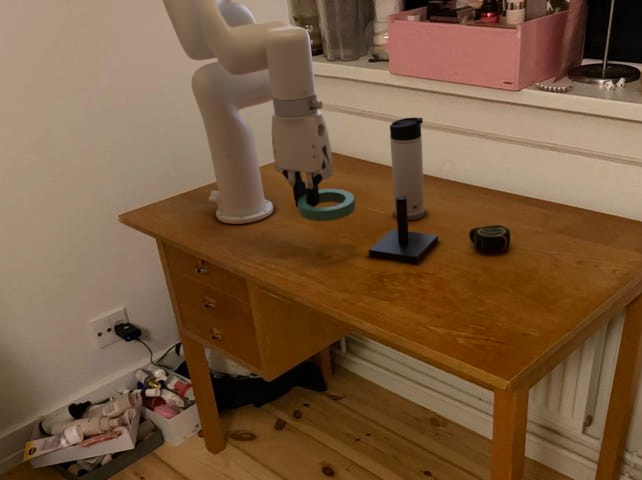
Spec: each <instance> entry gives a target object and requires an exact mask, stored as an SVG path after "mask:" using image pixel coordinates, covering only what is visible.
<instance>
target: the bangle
mask: <svg viewBox="0 0 642 480" xmlns="http://www.w3.org/2000/svg"><path fill="white" fill-rule="evenodd" d="M318 190H319V199H320V200H319V204H323V203H324V204H325V203H338V204H336V205H333V206H332V205H331V206H326V207H324V206H322V207H321V206H319V207H318V206H315V207H313V206H310V205H308V204H307V200H306V194H305V195H304V196H302V197H301V198H299V201H298V207H297V209H298V213H299V215H300V217H301V218H303V219H305V220H308V221H315V222H332V221H337V220H340V219H343V218H346V217H349V216H350V215H351V214H353V213H354V212H355V209H356V200H355V196H354V194H353V193H352V192H350V191H347V190H345V189H338V188H323V189H318Z"/></svg>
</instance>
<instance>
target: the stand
mask: <svg viewBox="0 0 642 480" xmlns="http://www.w3.org/2000/svg"><path fill="white" fill-rule="evenodd" d="M396 211H397V217H396V224H397V229H390V230H389V231H388V232H387V233H386V234H385V235H383V236H382V238H380V239H379V240H378V241H377V242H376V243H374V245H372V246H371V247H370V248H369V249H368V255H369V256H368V257H369V258H374V259H379V260H386V261H387V260H388V261H393V262H399V263H406V264H412V265H418V264H419V263H420V262H421V261H422V260H423V259H424V258H425V257H426V256H427V255H428V254H429V253H430V252H431V250H433V248H435V246H437V245H438V243H439V235H437V234H436V235H435V234H429V233H428V234H427V233H422V232H413V231H409V220H408V215H407V197H406V196H398V197H396Z"/></svg>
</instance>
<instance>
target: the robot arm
mask: <svg viewBox="0 0 642 480" xmlns="http://www.w3.org/2000/svg"><path fill="white" fill-rule="evenodd" d="M161 1H162V3H163V6H164V8H165V11H166V13H167V16H168V18H169V21H170V23H171V25H172V28H173V30H174V32H175V35H176V37H177V39H178V41H179V44H180V46H181V48H182V50H183V51H184V53H185V55H186V56H187V57H188V58H189V59H191V60H193V61H205V60H213V59H217V61H214V62H210V63H206V64H204V65H202V66H200V67H199V68H197V69H196V70H195V71H194V72H193V74H192V77H191V83H190V84H191V91H192V94H193V97H194V100H195V102H196V105H197V107H198V109H199V112H200V115H201V119H202V121H203V125H204V130H205V133H206V138H207V143H208V147H209V151H210V157H211V161H212V162H211V163H212V166H213V171H214V176H215V181H216V185H217V190H212V191H211V192H210V196H209V197H208V201H209V203H212V204H217V209H216V210H215V215H216V218H217V220H218V221H220V222H221V223H225V224H231V225H236V224H237V225H241V224H242V225H243V224H249V223H254V222H257V221H260V220H263V219H265V218H267V217H269V216H270V215H271V214H272V213H273V212H274V206H273V205H274V204H273V203H272V202H271V201H270V200H268V199H266V198H265V194H264V188H263V187H264V186H263V181H262V176H261V170H260V165H259V159H258V153H257V152H258V151H257V146H256V141H255V136H254V131H253V129H252V127H251V125H250V124H249V123H248V121H247V120H245V119H244V118H243V117H242V116H241V114H240V113H239V111H240V110H243V109H246V108H250V107H251V108H252V107H254V106H258V105H262V104H266V103H269V102H271V101H272V105H273V111H274V112H273V113H272V116H271V145H272V153H273V159H274V165H273V170H274V171H276V172H277V173H279V174H281V175H283V176H284V178H285V179H286V180H287V181H288V184H289V186H290V187H292V193H293V200H294V203H295V207H296V208H298V201H299V198H301V197H302V196H304V195H305V194H306V200H307V204H308V205H310V206H313V207H318V205H319V204H320V203H319V200H320V199H319V190H320V189H319V185H320V184H321V182H322V181H323V180H326V179H329V178H330V177H332V176H333V175H335V173H334V170H333V168H332V166H331V165H332V164H333V156H332V155H333V154H332V147H331V142H330V137H329V132H328V127H327V123H326V121H325V117H324V115H323V111H319V110H322V109H323V101H322V100H319V99H318V97H317V94H316V83H315V82H316V81H315V74H314V73H315V72H314V66H313V65H314V63H313V54H312V46H311V37H310V34H309V32H308V31H307V29H305V28H304V27H300V26H294V25H293V26H292V25H291V24H290V23H288V22H286V21H285V20H281V19H272V20H265V21H260V22H256V21H257V20H256V19H255V17H254V15H253V14H252V12H251V11H250V10H249V8H248V7H246V6H245V5H244V4H242V3H240V2H236V1H233V0H161ZM302 173H305V177H306V182H305V181H303V174H302Z"/></svg>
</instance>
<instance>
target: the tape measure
mask: <svg viewBox="0 0 642 480" xmlns="http://www.w3.org/2000/svg"><path fill="white" fill-rule="evenodd" d="M468 238H469V239H470V242H471V244H472V245H474V246H475V248H476V249H477V250H479V251H481V252H484V253H497V252H502V251H506V249H508V248H509V246H510V245H511V231H510V229H509V228H507V227H505V226H503V225H500V224H493V225H486V226H479V227H474V228H470V231H469V233H468Z"/></svg>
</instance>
